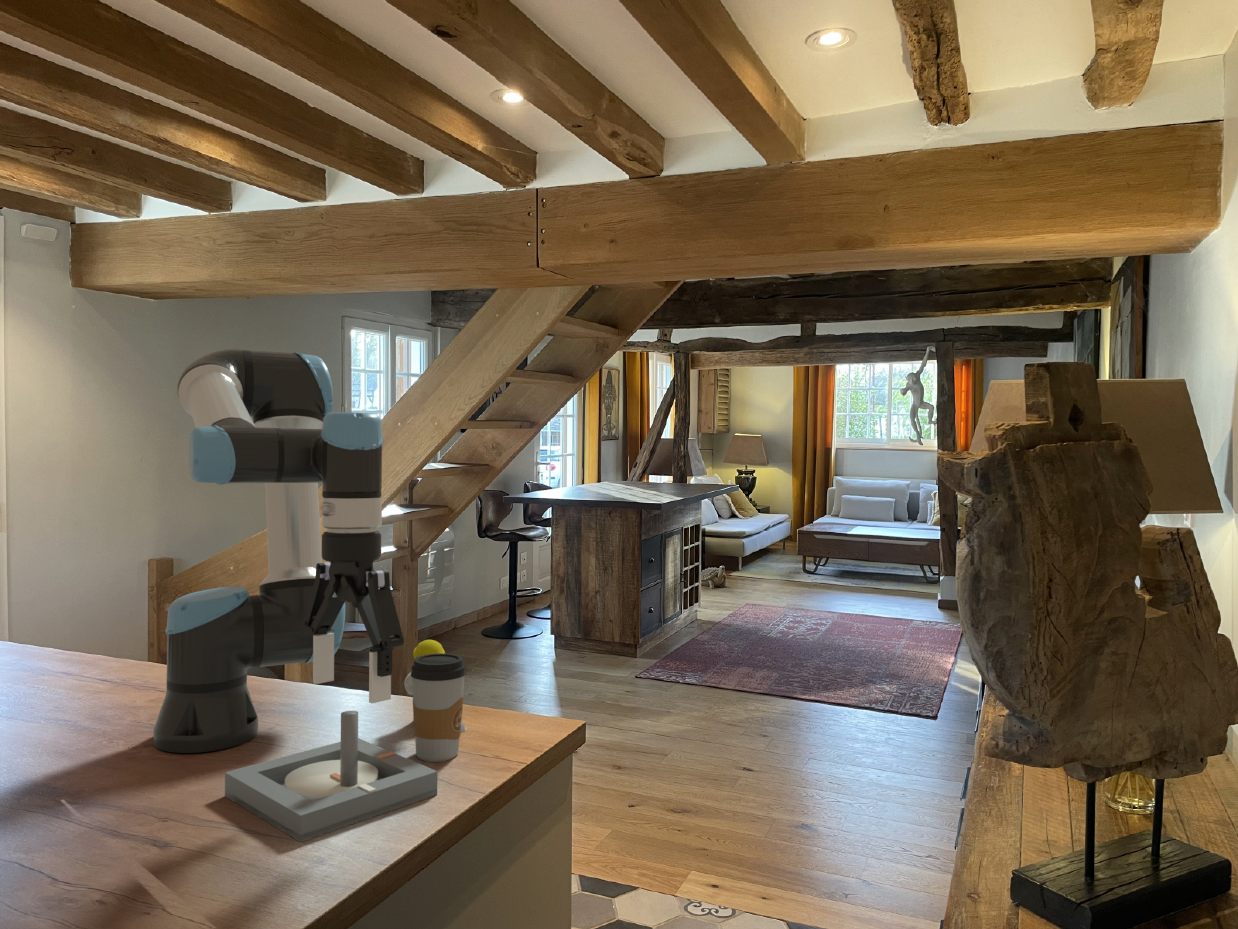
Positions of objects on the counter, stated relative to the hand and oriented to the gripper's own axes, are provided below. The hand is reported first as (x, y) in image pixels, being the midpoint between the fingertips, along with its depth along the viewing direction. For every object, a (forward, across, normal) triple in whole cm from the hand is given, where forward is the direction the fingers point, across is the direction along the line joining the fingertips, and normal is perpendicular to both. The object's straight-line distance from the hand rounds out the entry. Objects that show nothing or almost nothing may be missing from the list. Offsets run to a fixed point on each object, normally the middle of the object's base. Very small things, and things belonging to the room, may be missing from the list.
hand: (350, 691), depth 116 cm
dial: (+14, -5, 0) cm, 15 cm away
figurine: (+15, -17, +26) cm, 35 cm away
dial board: (+15, -5, 0) cm, 16 cm away
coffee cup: (+15, -7, +19) cm, 25 cm away
